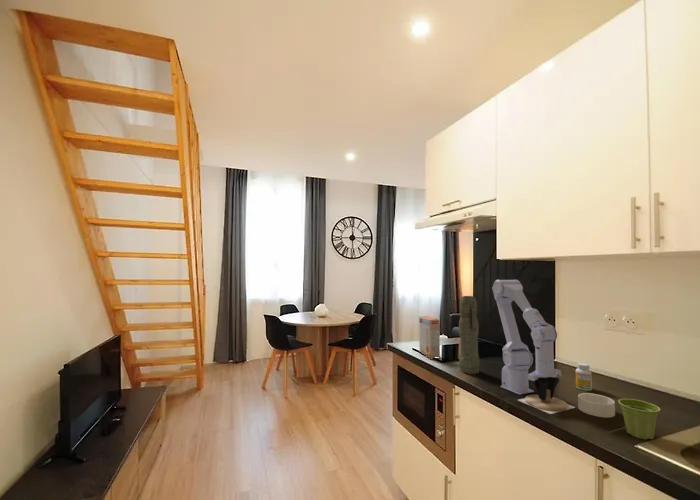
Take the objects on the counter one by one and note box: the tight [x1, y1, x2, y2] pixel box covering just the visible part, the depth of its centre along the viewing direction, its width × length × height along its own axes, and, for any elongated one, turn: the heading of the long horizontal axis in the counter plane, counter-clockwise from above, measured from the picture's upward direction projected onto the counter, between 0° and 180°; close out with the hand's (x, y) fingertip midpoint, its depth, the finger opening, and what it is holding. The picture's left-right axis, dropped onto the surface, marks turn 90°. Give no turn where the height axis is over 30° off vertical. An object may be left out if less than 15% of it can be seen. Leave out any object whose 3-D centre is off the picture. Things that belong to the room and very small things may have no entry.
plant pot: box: [617, 398, 661, 440], centre depth 100 cm, size 9×9×9 cm
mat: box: [517, 397, 577, 415], centre depth 122 cm, size 13×13×1 cm
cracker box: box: [418, 315, 441, 359], centre depth 189 cm, size 14×6×21 cm, turn 12°
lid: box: [524, 389, 568, 412], centre depth 122 cm, size 13×13×5 cm
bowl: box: [577, 392, 616, 419], centre depth 116 cm, size 10×10×4 cm
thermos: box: [458, 295, 480, 375], centre depth 161 cm, size 9×12×35 cm
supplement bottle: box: [575, 362, 593, 392], centre depth 138 cm, size 5×5×10 cm
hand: (545, 398), depth 122 cm, fingers closed on lid, 3 cm apart
